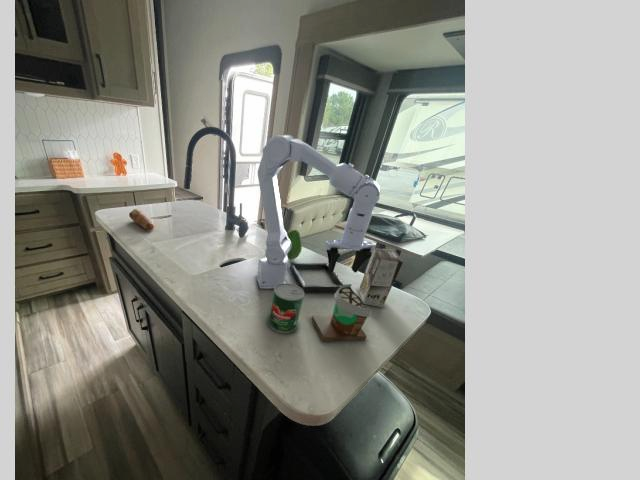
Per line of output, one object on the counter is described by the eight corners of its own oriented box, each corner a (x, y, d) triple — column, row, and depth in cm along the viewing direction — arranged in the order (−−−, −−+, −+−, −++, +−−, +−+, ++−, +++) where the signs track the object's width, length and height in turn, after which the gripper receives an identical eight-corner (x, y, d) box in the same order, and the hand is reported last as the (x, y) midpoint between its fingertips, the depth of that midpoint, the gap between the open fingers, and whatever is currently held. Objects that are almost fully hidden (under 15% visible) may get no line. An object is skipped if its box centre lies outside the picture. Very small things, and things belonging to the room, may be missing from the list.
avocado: (291, 252, 115) (296, 225, 108) (303, 260, 109) (309, 232, 102) (276, 255, 112) (280, 227, 105) (287, 263, 106) (292, 234, 99)
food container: (320, 311, 79) (329, 282, 73) (340, 311, 79) (350, 283, 74) (336, 341, 69) (347, 310, 63) (359, 340, 69) (372, 310, 64)
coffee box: (383, 307, 85) (404, 262, 76) (362, 304, 86) (380, 258, 77) (377, 292, 93) (395, 249, 83) (358, 289, 93) (374, 246, 84)
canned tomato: (270, 332, 72) (275, 299, 66) (267, 314, 79) (272, 282, 72) (299, 333, 72) (307, 300, 66) (294, 315, 79) (301, 283, 73)
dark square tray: (302, 293, 89) (303, 286, 88) (289, 268, 103) (290, 262, 102) (344, 292, 91) (346, 286, 90) (326, 268, 105) (327, 263, 104)
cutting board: (322, 341, 71) (323, 337, 70) (311, 319, 78) (312, 315, 77) (364, 340, 72) (366, 336, 71) (350, 318, 79) (351, 315, 78)
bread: (142, 218, 138) (140, 207, 135) (156, 231, 126) (155, 219, 123) (129, 220, 135) (127, 209, 131) (143, 233, 122) (141, 221, 119)
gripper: (337, 232, 70) (324, 277, 78) (388, 233, 72) (370, 277, 79) (327, 223, 75) (316, 266, 83) (374, 224, 77) (359, 266, 85)
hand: (342, 270), depth 82 cm, fingers open, 7 cm apart
